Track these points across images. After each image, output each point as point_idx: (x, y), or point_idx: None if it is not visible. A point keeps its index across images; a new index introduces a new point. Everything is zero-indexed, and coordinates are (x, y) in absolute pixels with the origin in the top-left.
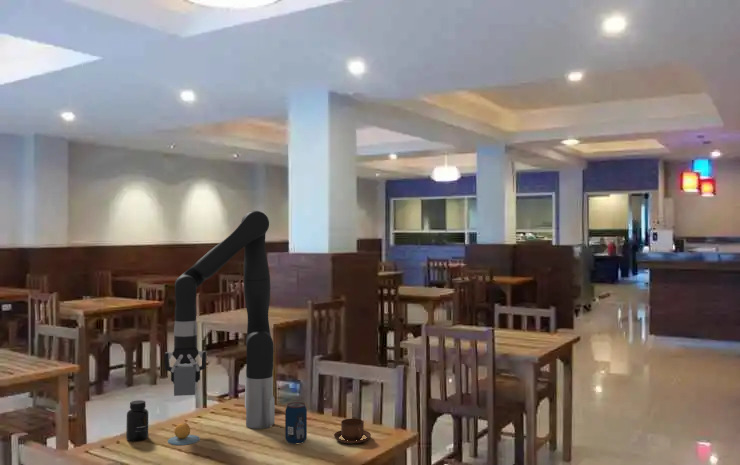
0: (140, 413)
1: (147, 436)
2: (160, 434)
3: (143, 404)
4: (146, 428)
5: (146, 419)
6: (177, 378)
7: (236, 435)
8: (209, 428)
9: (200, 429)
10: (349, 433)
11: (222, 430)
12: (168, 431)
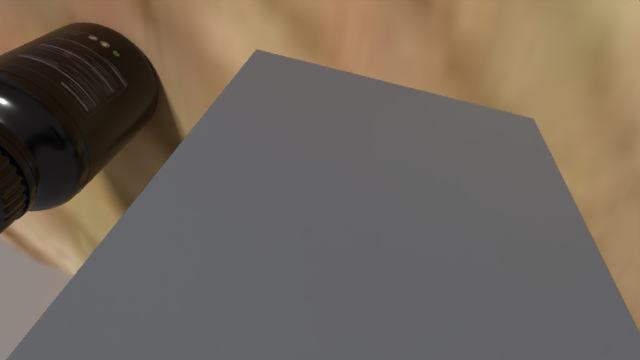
0: (37, 210)
1: (155, 106)
2: (224, 59)
3: (9, 223)
4: (128, 140)
5: (99, 171)
6: None
7: (614, 249)
8: (536, 66)
9: (474, 62)
10: None
11: (592, 141)
12: (272, 17)
